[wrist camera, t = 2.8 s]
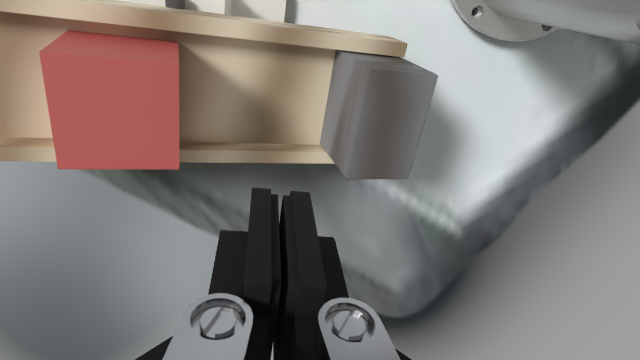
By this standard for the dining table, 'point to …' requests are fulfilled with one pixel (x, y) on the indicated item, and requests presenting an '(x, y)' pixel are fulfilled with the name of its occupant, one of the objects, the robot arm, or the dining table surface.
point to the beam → (235, 86)
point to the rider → (112, 101)
